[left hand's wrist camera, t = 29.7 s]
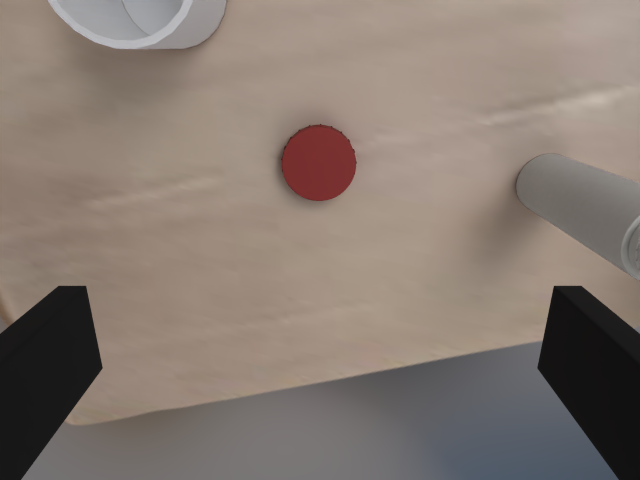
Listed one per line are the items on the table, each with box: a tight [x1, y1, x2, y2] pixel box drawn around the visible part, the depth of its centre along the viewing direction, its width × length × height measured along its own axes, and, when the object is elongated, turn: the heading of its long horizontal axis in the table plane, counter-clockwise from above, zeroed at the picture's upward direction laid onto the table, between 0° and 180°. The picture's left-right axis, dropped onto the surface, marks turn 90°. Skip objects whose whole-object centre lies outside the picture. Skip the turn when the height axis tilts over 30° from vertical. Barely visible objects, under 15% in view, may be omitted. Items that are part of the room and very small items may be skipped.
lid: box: [282, 124, 357, 201], centre depth 37 cm, size 6×6×2 cm
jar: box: [516, 154, 640, 281], centre depth 31 cm, size 5×5×16 cm
